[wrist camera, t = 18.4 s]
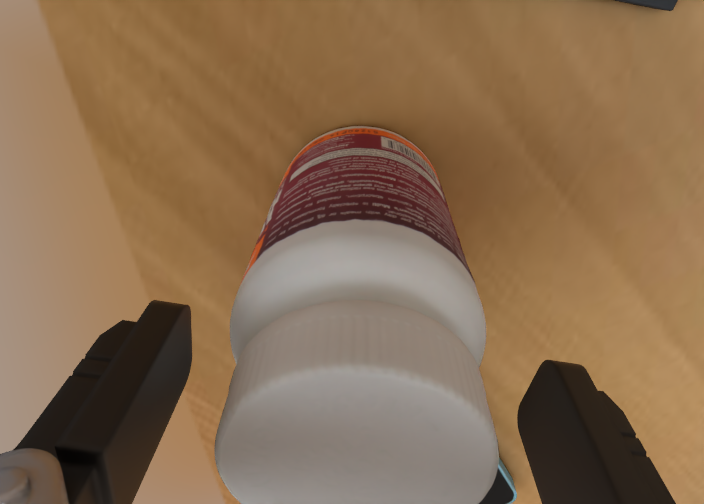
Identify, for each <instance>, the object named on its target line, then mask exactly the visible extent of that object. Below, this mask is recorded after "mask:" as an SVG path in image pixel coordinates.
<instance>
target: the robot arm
mask: <svg viewBox="0 0 704 504" xmlns="http://www.w3.org/2000/svg"><path fill="white" fill-rule="evenodd" d="M191 362H192V336H191V310H190V307H189V305H184V304H177V303H170V302H164V301H157V300H153V301H151V302H150V303H149V305H148V306H147V308H146V309H145V311H144V312H143V314H142V315H141V317H140V318H139V320H138V321H137V322H132V321H125V320H122V321H120V322H119V323H117V324H116V325H115V326H113V327H112V328H110V329H109V330H107V331H106V332H104V333H103V334H101V335H100V336H99V338H98V339H97V340H96V342H95V343H94V344H93V346H92V347H91V348H90V350H89V351H88V352H87V354H86V356H85V359H82V360H81V362H80V363H79V364H78V366H77V367H76V368H75V370H74V371H73V375H72V376H69V378H68V379H67V380H66V382H65V383H64V384H63V386H62V387H61V389H60V390H59V391H58V393H57V394H56V395H55V397H54V398H53V399H52V401H51V402H50V403H49V405H48V406H47V407H46V409H45V410H44V412H43V413H42V414H41V415H40V417H39V418H38V419H37V421H36V422H35V424H34V425H33V426H32V428H31V429H30V430H29V431H28V433H27V434H26V436H25V437H24V438H23V440H22V441H21V442H20V443H19V444H18V446H17V447H16V448H15V449H14V450H12V451H9V452H5V453H2V454H0V504H132V502H133V500H134V498H135V496H136V493H137V491H138V489H139V487H140V484H141V482H142V480H143V478H144V475H145V473H146V471H147V469H148V467H149V464H150V462H151V460H152V458H153V456H154V453H155V451H156V449H157V447H158V444H159V442H160V440H161V438H162V436H163V433H164V431H165V429H166V427H167V424H168V422H169V420H170V418H171V415H172V413H173V411H174V409H175V407H176V404H177V402H178V400H179V398H180V396H181V393H182V391H183V389H184V387H185V384H186V382H187V379H188V376H189V372H190V368H191ZM518 429H519V433H520V436H521V439H522V442H523V445H524V449H525V452H526V455H527V458H528V461H529V464H530V467H531V470H532V473H533V477H534V480H535V483H536V486H537V489H538V492H539V495H540V498H541V501H542V504H676V503H675V501H674V500H673V498H672V496H671V495H670V493H669V491H668V489H667V488H666V486H665V484H664V482H663V481H662V479H661V477H660V475H659V474H658V472H657V470H656V468H655V467H654V465H653V463H652V461H651V460H650V458H649V457H647V456H646V451H645V449H644V447H643V446H642V444H641V442H640V440H639V439H638V438H636V437H635V435H636V433H635V432H634V430H633V428H632V426H631V425H630V423H629V421H628V419H627V418H626V416H625V414H624V412H623V411H622V410H621V409H620V408H619V407H618V406H617V405H616V404H615V403H614V402H613V401H612V400H611V399H610V398H609V397H608V396H607V395H606V394H605V393H604V392H603V391H597V389H596V387H595V385H594V383H593V381H592V380H591V378H590V376H589V374H588V372H587V371H586V369H585V368H584V367H583V366H582V365H579V364H573V363H566V362H560V361H553V360H545V361H544V362H543V363H542V364H541V365H540V367H539V369H538V371H537V373H536V375H535V376H534V378H533V380H532V382H531V384H530V386H529V388H528V390H527V392H526V393H525V395H524V397H523V399H522V401H521V403H520V406H519V409H518Z"/></svg>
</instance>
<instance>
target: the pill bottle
mask: <svg viewBox="0 0 704 504" xmlns="http://www.w3.org/2000/svg"><path fill="white" fill-rule="evenodd" d="M230 341H231V347H232V352H233V356H234V359H235V362H236V367H235V370H234V373H233V376H232V379H231V383H230V386H229V394H228V397H227V400H226V403H225V407H224V410H223V413H222V417H221V420H220V423H219V427H218V430H217V434H216V440H215V460H216V465H217V469H218V472H219V474H220V476H221V479H222V481H223V482H224V484H225V485H226V487H227V488H228V490H229V491H230V493H231V494H232V495H233V496H234V497H235V498H236V499H237V500H238V501H239V502H240V503H241V504H479V503H480V502H481V501H482V500H483V498H484V497H485V496H486V494H487V493H488V491H489V490H490V488H491V487H492V485H493V483H494V480H495V477H496V474H497V470H498V464H499V451H498V441H497V437H496V433H495V429H494V425H493V421H492V418H491V414H490V411H489V407H488V404H487V400H486V393H485V389H484V384H483V381H482V377H481V374H480V371H479V367H480V364H481V361H482V358H483V353H484V349H485V344H486V322H485V315H484V311H483V307H482V303H481V301H480V298H479V295H478V292H477V289H476V285H475V281H474V279H473V277H472V274H471V272H470V270H469V267H468V265H467V262H466V259H465V256H464V253H463V251H462V248H461V244H460V241H459V238H458V236H457V233H456V230H455V227H454V224H453V221H452V218H451V215H450V212H449V208H448V205H447V202H446V199H445V196H444V193H443V190H442V187H441V184H440V182H439V179H438V176H437V174H436V171H435V170H434V168H433V166H432V164H431V163H430V161H429V160H428V158H427V157H426V156H425V155H424V153H423V152H422V151H421V150H420V149H419V148H418V147H417V146H416V145H414V144H413V143H412V142H410V141H409V140H407V139H406V138H404V137H402V136H400V135H398V134H396V133H394V132H391V131H388V130H385V129H381V128H376V127H368V126H351V127H345V128H339V129H336V130H333V131H330V132H327V133H325V134H323V135H321V136H319V137H317V138H315V139H314V140H312V141H311V142H310V143H308V144H307V145H306V146H305V147H304V148H303V149H302V150H301V151H300V152H299V153H298V154H297V155H296V156H295V158H294V159H293V160H292V162H291V163H290V165H289V167H288V169H287V171H286V173H285V175H284V177H283V179H282V181H281V183H280V186H279V189H278V191H277V193H276V195H275V198H274V200H273V203H272V204H271V207H270V210H269V213H268V216H267V218H266V221H265V223H264V225H263V228H262V230H261V233H260V236H259V238H258V240H257V243H256V246H255V248H254V250H253V253H252V255H251V258H250V261H249V264H248V266H247V269H246V271H245V274H244V276H243V279H242V282H241V285H240V287H239V290H238V293H237V295H236V298H235V301H234V305H233V308H232V313H231V319H230Z"/></svg>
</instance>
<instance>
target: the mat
mask: <svg viewBox="0 0 704 504" xmlns="http://www.w3.org/2000/svg"><path fill="white" fill-rule="evenodd" d="M615 1H620V2H625V3H630V4H635V5H640V6H645V7H650V8H655V9H660V10H667V11H672V10H673V9H674V7H675V5H676V3H677V1H678V0H615Z"/></svg>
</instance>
